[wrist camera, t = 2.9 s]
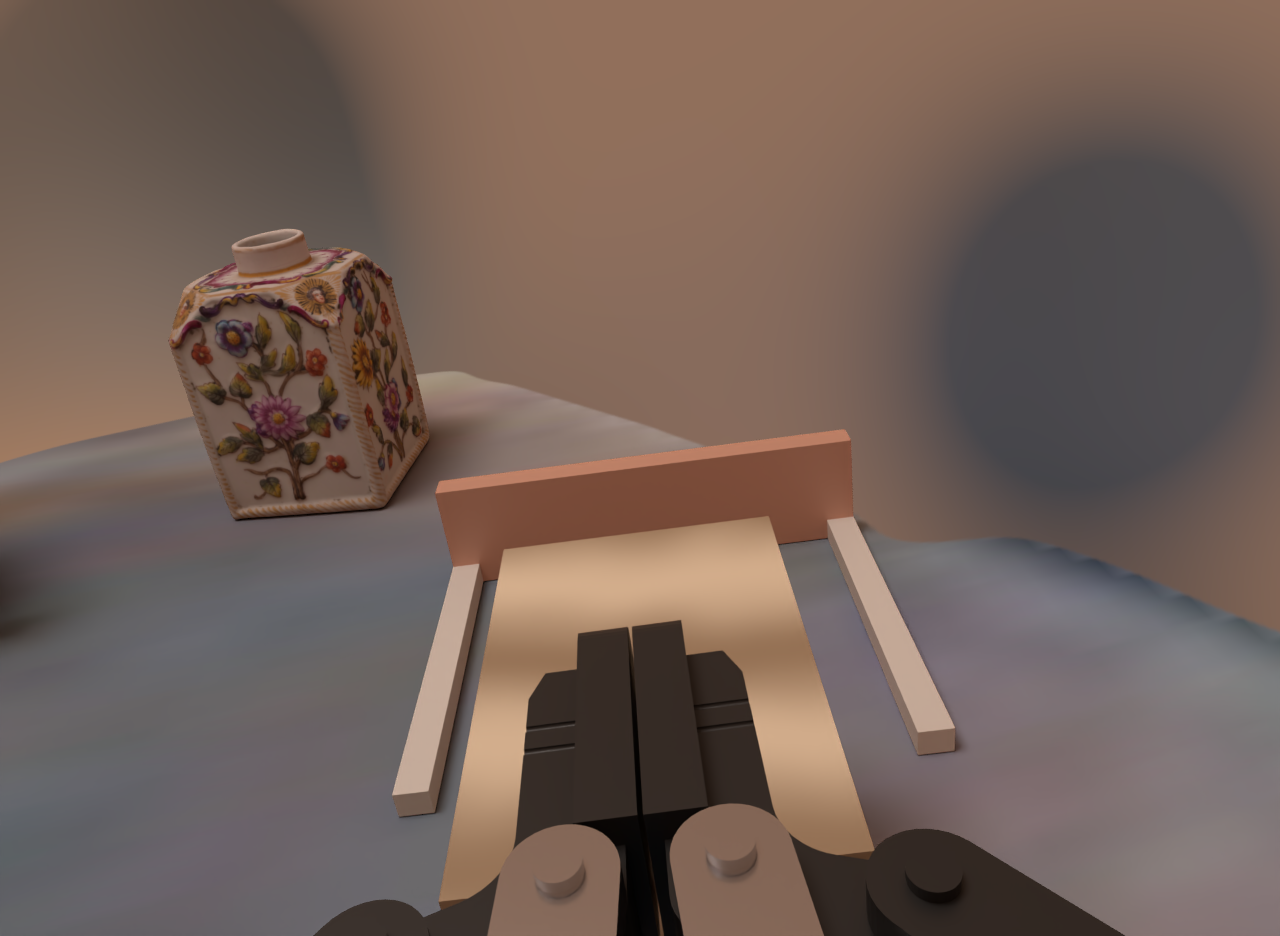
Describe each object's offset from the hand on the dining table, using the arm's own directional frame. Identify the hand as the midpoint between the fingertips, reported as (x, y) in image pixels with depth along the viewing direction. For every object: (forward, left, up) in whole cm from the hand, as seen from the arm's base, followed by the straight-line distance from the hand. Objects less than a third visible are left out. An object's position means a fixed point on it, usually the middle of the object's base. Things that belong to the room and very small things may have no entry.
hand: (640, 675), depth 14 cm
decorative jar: (+53, +24, -20) cm, 61 cm away
